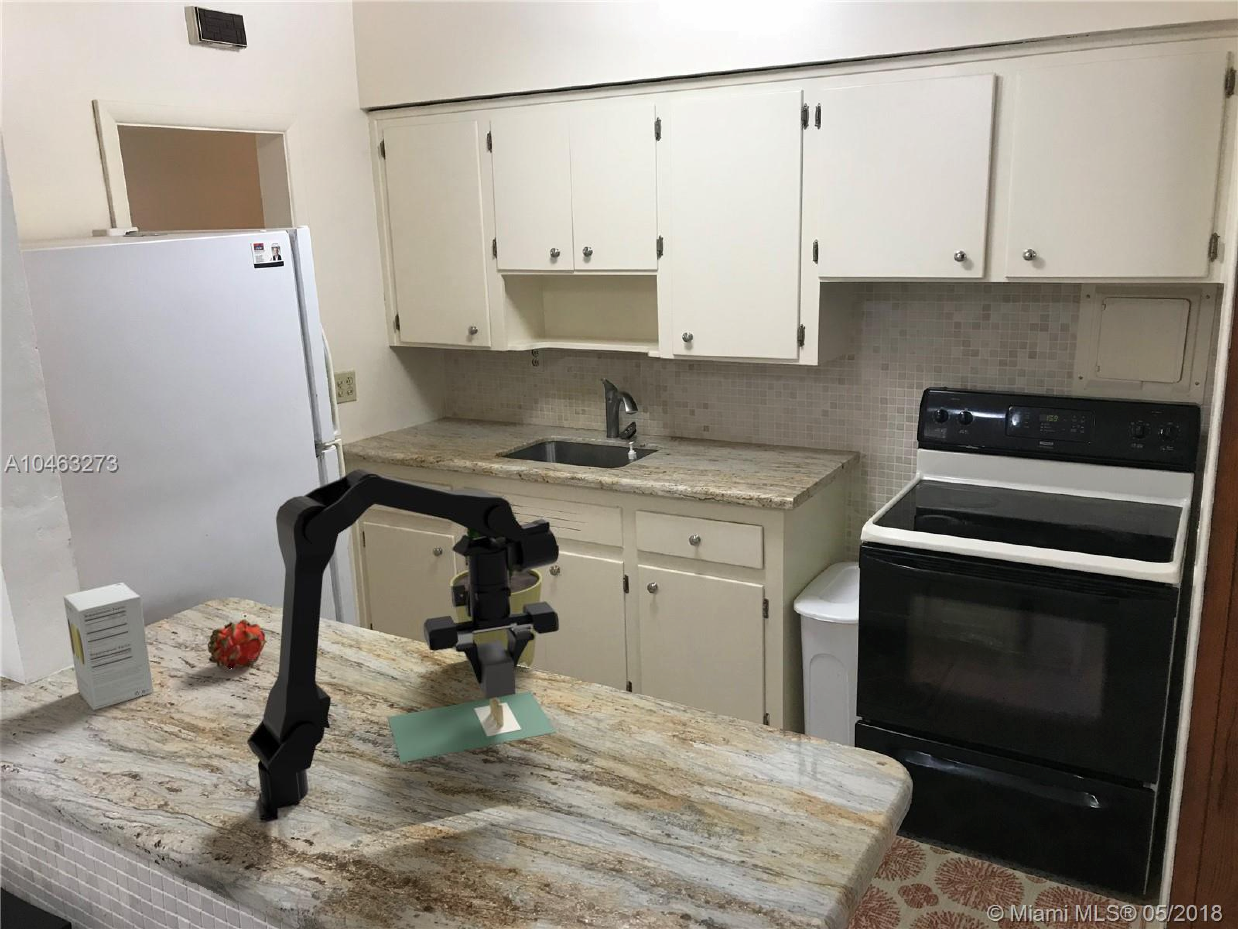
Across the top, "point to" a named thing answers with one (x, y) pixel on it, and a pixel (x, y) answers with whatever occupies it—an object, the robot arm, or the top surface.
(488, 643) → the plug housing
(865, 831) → the top surface
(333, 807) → the top surface
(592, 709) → the top surface
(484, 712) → the board
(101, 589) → the supplement box
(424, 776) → the top surface
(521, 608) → the potted cactus
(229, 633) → the dragon fruit
